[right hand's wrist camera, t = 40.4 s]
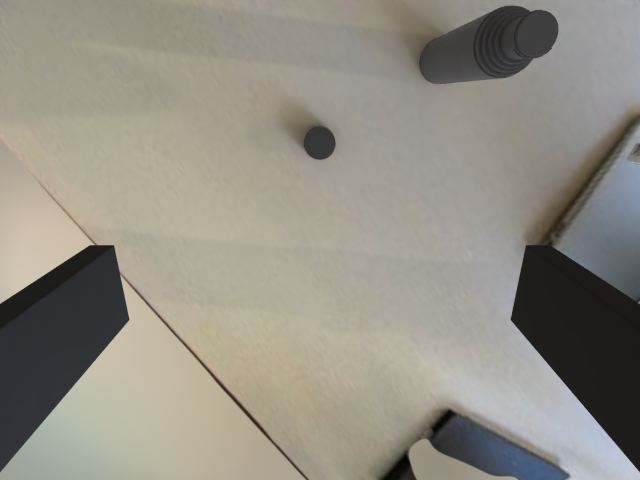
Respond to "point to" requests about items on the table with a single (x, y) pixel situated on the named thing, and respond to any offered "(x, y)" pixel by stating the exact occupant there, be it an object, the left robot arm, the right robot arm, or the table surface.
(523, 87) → the table surface
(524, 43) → the bottle
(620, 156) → the table surface
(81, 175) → the table surface
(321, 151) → the cap
